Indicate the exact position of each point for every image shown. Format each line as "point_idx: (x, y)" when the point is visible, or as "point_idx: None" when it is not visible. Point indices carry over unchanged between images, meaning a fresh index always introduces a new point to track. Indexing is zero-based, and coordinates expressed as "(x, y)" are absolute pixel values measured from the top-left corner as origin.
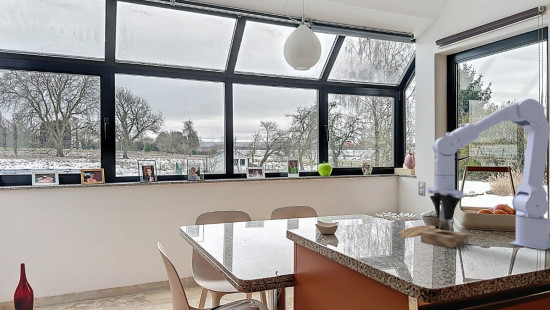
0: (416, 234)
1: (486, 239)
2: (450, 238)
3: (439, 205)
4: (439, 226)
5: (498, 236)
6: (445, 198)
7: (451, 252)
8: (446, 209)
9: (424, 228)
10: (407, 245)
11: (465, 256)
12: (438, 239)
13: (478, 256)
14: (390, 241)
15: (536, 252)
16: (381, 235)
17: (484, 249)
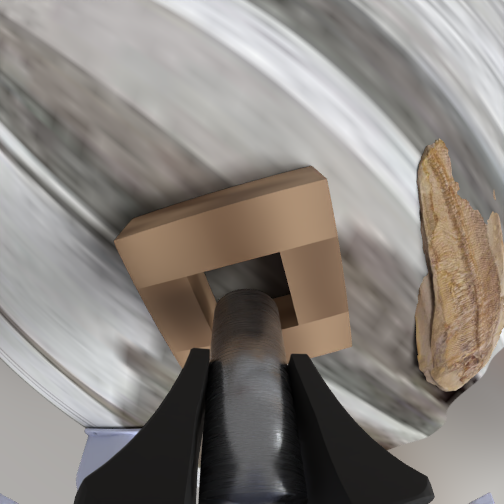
0: (431, 259)
1: None
2: (116, 237)
3: (311, 450)
4: (264, 304)
5: None
6: (82, 501)
7: (58, 157)
8: (156, 412)
9: (460, 351)
10: (259, 26)
11: (4, 171)
12: (194, 207)
13: (3, 221)
14: (380, 18)
15: (64, 403)
16: (495, 99)
17: (93, 326)
